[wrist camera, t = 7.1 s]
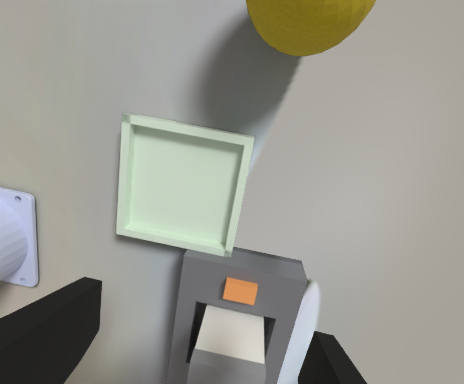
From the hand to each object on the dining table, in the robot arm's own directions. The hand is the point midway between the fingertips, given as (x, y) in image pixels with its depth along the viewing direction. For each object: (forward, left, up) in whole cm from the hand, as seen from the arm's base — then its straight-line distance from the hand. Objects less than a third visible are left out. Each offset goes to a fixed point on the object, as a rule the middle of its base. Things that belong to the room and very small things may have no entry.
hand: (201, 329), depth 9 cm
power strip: (+1, -18, -10) cm, 20 cm away
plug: (+1, -8, -10) cm, 13 cm away
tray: (-4, +2, -10) cm, 11 cm away
